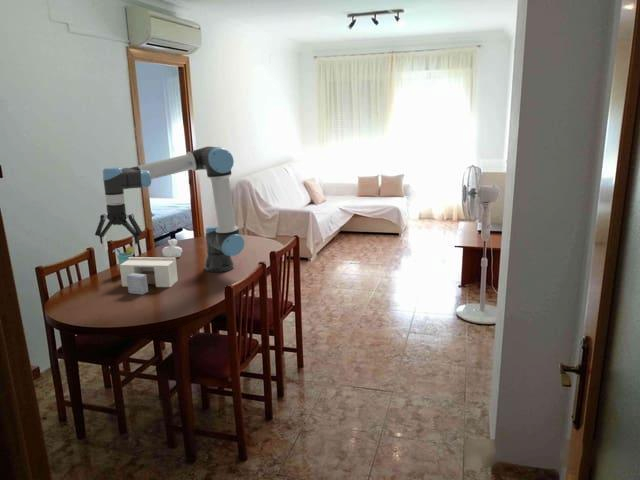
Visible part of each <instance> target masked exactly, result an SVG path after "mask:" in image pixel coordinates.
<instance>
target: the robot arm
mask: <svg viewBox="0 0 640 480" xmlns="http://www.w3.org/2000/svg"><path fill="white" fill-rule="evenodd" d="M234 161H235V160H234V157H233V155H232V153H231V152H230V150H228V149H227V148H223V147H220V146H205V147H201V148H198V149H194V150H191V151H187V153H186V154H183V155H179V156H174V157H171V158H166V159H162V160H158V161H153V162H150V163H149V162H148V163H144V164H140V165H136V166H132V167H124V168H121V167H117V166H115V167H113V166H111V167H104V168H103V169H102V180H103V187H104V194H105V195H104V196H105V203H106V213H107V214H105V213H103V214H101V215H100V216H99V217H100V219H99V223H98V225H97V228H96V229H95V230H96V231H95V233H94V236H96V237H99V240H100V244H101V245H102V251H103V252H104V253H105V252H107V251H108V250H109V248H108V240H107V239H108V237H107V235H106V234H107V232H108V231H109V230H110V229H111V227H112V226H121V225H122V227H124V228H125V229H126V230H127V231H128V232H129V233H130V234H131V235H132V238H131V239H132V247H133V248H134V252H135V253H136V252H137V251H138V250H139V248H138V244H139V243H140V239H139V236H141V235H143V231H142V229H141V228H140V226H139V225H138V223H137V221H136V219H135V216H134V213H131V214H127V213H126V212H127V210H126V204H125V192H124V191H125V190H128V189H129V190H130V189H142V188H149V187H151V184H152V180H154V179H159V178H163V177H166V176H171V175H174V174H175V175H176V174H179V173H183V172H187V171H190V170H192V172H196V171H199V170H200V171H201V170H203V171H204V170H206V176H207V178H208V179H210V182H211V188H212V195H213V200H214V201H213V202H214V209H215V214H216V215H215V216H216V222H217V225H211V226H208V227H206V228H205V240H206V243H205V244H206V255H207V256H206V259H205V264H204V270H205V271H206V272H210V273H223V271H224V272H228V271H231V270H233V269H234V268H235V266H234V265H235V264H234V260H233V258H232V257H235V256H238V255H240V254H241V252H242V251H243V250H244V249H245V239H244V237H243V236H242V235H241V234H240V227H239V226H238V225H237V224H236V221H235V211H234V206H233V197H232V191H231V184H230V177H231V175H232V168H233V167H234V163H235V162H234ZM106 220H108V222H107V224H105V222H106ZM127 220H128V221H129V222H130V223H129V222H128V221H127ZM104 225H105V227H104ZM233 267H234V268H233ZM232 268H233V269H232Z"/></svg>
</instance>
